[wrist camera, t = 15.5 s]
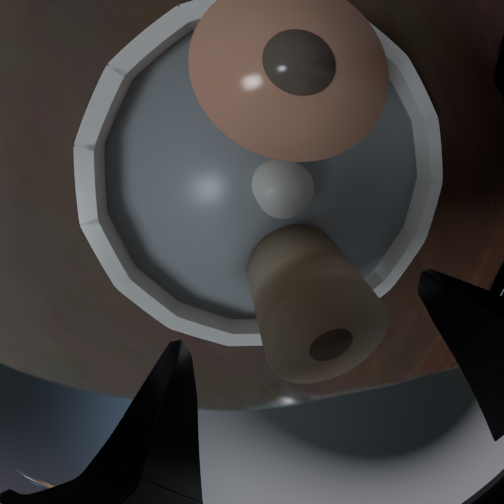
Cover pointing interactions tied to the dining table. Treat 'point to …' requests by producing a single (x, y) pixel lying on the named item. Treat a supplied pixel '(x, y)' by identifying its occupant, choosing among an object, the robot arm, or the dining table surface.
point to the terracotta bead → (289, 75)
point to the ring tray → (237, 187)
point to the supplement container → (499, 283)
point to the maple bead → (312, 306)
